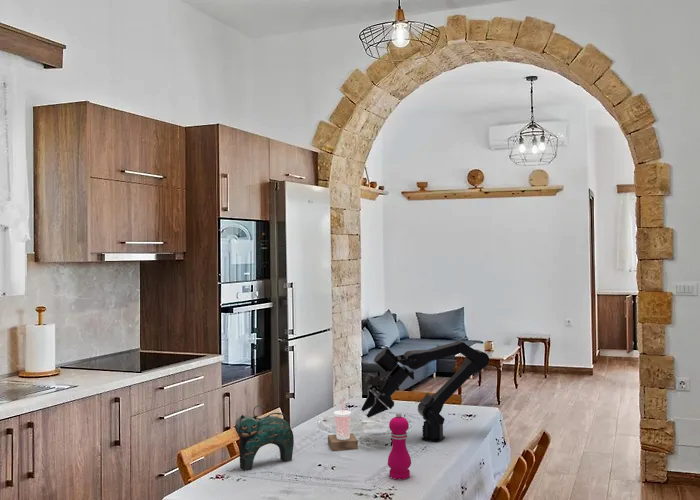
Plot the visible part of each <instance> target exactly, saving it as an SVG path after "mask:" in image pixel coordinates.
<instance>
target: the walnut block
mask: <svg viewBox="0 0 700 500" xmlns="http://www.w3.org/2000/svg"><path fill="white" fill-rule="evenodd" d="M358 442H359V440H358V439H357V438H356V435H354V433H352V432H350V438H349V439H346V440H340V439H337V437H336V434H328V435H327V445H328V446H329V448H330V449H331V452H338V451H350V450H358V449H359V448H358V447H359V446H358V444H359V443H358Z"/></svg>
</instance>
